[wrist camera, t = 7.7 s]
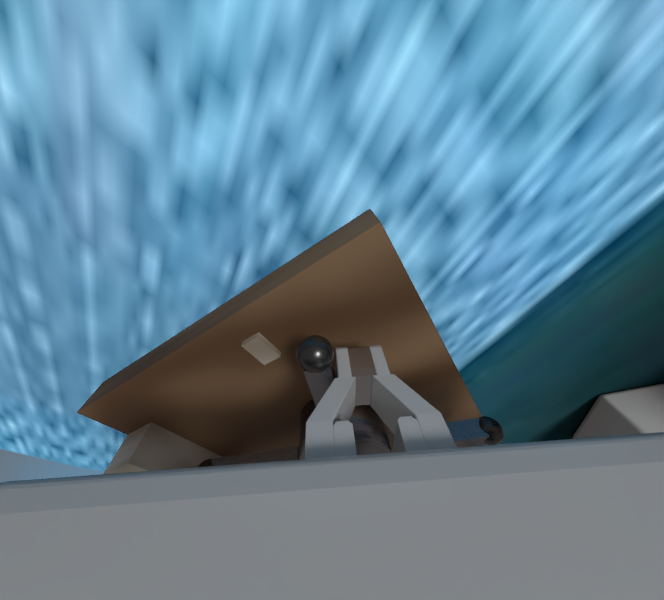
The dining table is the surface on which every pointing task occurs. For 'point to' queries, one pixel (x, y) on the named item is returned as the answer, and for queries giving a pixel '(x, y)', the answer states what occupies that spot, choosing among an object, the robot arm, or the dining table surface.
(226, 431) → the stand
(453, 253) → the dining table surface
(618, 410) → the medicine bottle
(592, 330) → the dining table surface
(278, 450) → the capstan
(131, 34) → the dining table surface
